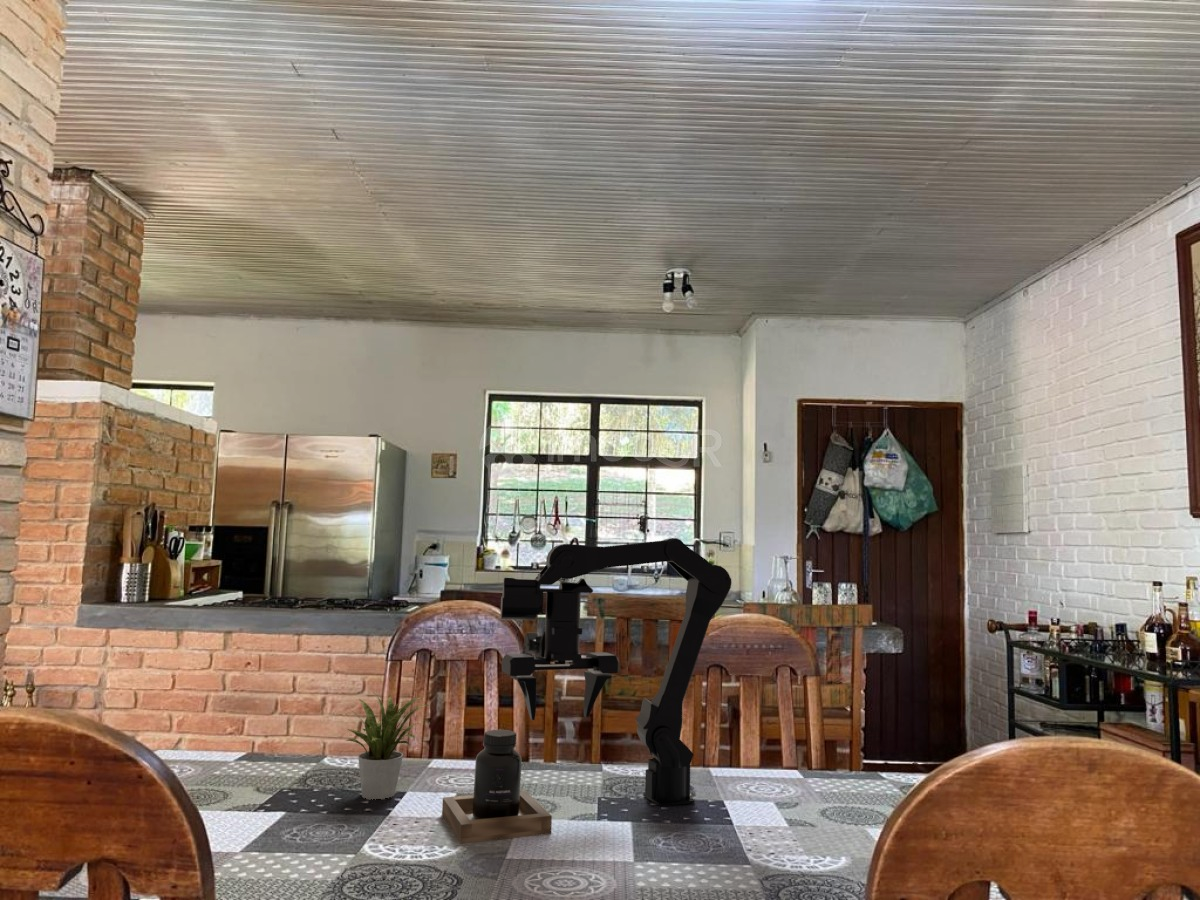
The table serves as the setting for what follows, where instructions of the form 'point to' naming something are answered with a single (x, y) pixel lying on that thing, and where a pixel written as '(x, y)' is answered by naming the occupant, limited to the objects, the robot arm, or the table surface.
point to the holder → (495, 820)
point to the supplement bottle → (497, 776)
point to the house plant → (382, 750)
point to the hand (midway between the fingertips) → (559, 718)
